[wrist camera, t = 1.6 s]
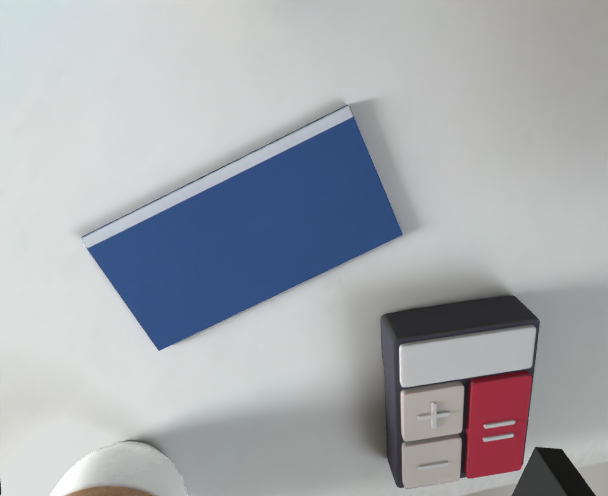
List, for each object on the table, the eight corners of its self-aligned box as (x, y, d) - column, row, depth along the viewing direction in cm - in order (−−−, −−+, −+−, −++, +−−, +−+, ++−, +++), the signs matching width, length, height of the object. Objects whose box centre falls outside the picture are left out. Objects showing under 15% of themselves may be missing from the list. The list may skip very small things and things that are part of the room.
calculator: (399, 497, 40) (395, 346, 34) (385, 456, 44) (379, 313, 38) (528, 475, 41) (547, 323, 35) (503, 437, 45) (516, 293, 39)
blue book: (400, 232, 36) (403, 234, 35) (159, 347, 37) (158, 351, 37) (347, 104, 32) (349, 105, 32) (82, 236, 34) (79, 239, 33)
